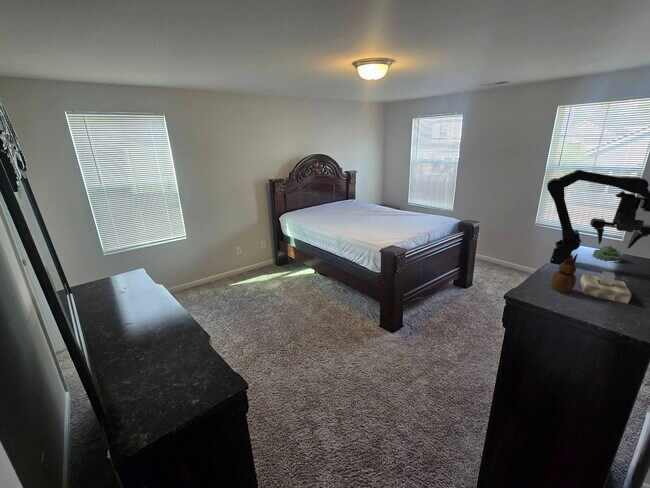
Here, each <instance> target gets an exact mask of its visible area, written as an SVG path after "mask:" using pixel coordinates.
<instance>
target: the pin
mask: <svg viewBox="0 0 650 488" xmlns="http://www.w3.org/2000/svg"><path fill="white" fill-rule="evenodd" d="M600 275H601V276H600V277H601V278H600V281H599V284H601V285H605V286H610V287H611V286H612V284H613V281H614V280H616V279H615V278H616V275H615V273H614V272H610V271H605V270H604V271H602V273H601V274H600Z"/></svg>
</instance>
